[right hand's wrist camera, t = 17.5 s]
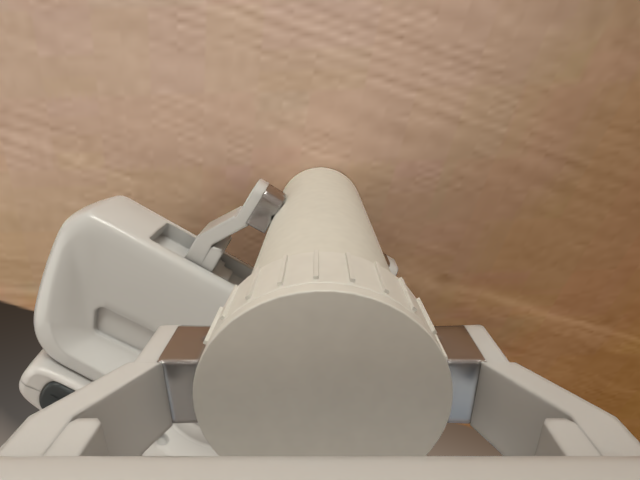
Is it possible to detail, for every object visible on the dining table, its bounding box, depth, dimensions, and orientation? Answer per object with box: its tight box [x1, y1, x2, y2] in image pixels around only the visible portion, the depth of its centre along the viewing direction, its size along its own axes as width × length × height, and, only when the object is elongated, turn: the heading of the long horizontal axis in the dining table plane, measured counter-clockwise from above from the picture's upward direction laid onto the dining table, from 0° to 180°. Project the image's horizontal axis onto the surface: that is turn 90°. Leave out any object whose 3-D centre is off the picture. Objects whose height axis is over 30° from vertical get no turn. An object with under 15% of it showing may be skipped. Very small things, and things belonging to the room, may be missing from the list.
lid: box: [193, 250, 453, 456], centre depth 9 cm, size 6×6×2 cm
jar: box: [252, 167, 390, 274], centre depth 16 cm, size 5×5×15 cm
